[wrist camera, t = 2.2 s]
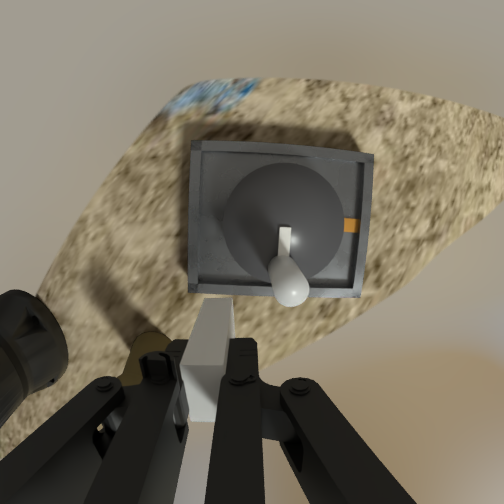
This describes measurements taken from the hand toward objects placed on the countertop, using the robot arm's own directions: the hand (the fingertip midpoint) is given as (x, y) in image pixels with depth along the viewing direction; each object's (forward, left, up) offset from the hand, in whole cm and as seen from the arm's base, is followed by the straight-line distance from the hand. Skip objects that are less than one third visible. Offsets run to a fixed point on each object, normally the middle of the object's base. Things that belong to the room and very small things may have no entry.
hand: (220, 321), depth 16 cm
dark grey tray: (+5, +4, -17) cm, 18 cm away
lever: (+5, +4, -15) cm, 16 cm away
